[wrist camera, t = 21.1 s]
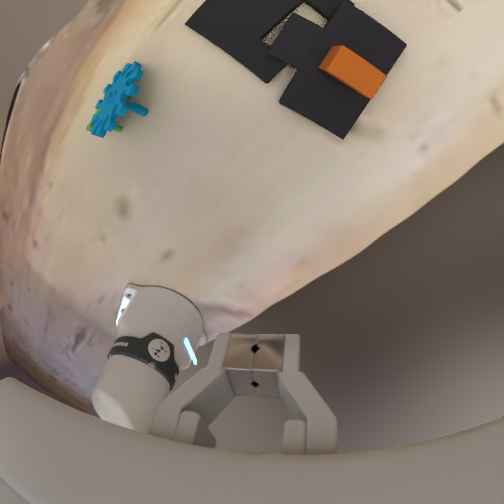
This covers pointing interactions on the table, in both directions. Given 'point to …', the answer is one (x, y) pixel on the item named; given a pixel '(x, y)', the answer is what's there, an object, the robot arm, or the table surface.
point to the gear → (117, 101)
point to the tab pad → (321, 85)
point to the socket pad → (251, 28)
